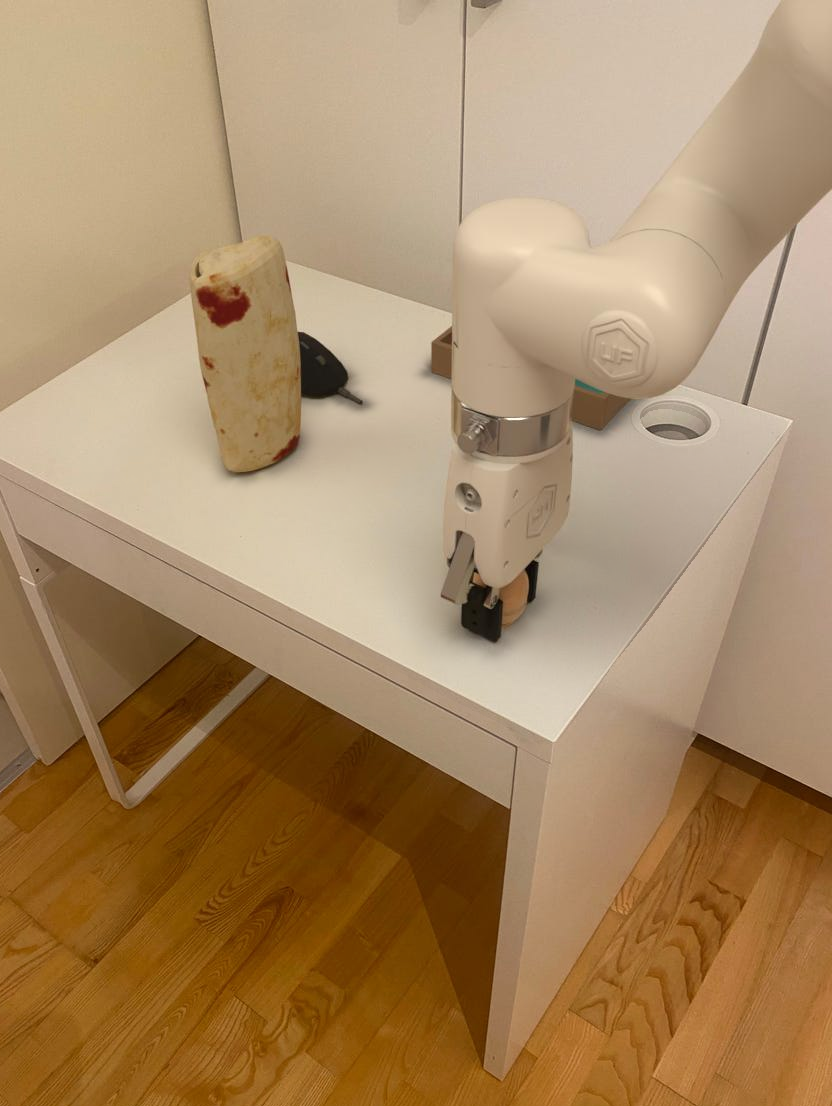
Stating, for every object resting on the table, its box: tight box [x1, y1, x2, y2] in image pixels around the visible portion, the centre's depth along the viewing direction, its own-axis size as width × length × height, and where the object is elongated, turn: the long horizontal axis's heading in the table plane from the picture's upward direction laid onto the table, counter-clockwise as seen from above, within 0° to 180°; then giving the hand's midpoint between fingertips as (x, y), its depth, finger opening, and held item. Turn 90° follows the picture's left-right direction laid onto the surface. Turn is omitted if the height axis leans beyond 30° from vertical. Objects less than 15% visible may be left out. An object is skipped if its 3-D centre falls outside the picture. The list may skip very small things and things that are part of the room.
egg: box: [473, 569, 529, 629], centre depth 74 cm, size 4×4×6 cm
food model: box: [188, 235, 302, 473], centre depth 85 cm, size 10×7×20 cm
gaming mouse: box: [298, 331, 364, 405], centre depth 99 cm, size 6×15×4 cm, turn 46°
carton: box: [430, 325, 632, 431], centre depth 96 cm, size 7×19×3 cm, turn 52°
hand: (498, 611), depth 76 cm, fingers closed on egg, 4 cm apart
